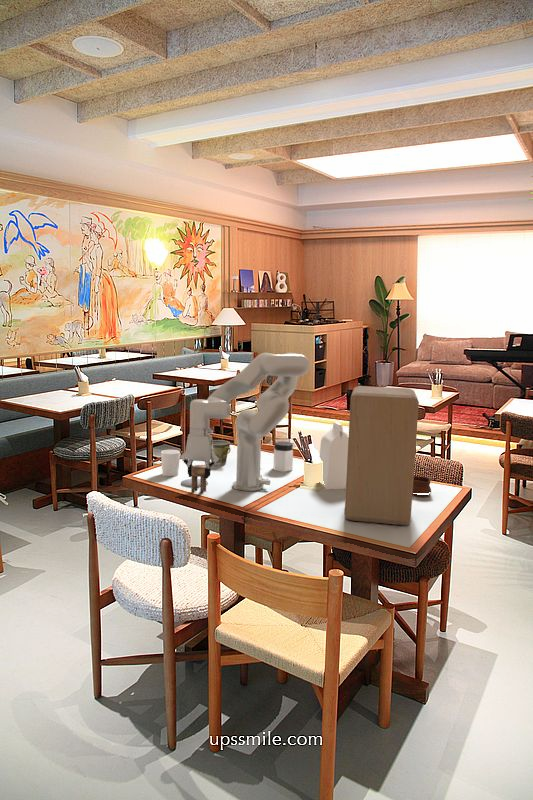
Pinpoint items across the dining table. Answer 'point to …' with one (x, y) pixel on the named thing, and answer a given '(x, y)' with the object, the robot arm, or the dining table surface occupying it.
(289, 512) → the dining table surface
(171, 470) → the white cup
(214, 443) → the ceramic cup
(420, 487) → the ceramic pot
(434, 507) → the dining table surface
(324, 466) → the milk
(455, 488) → the dining table surface
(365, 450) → the block
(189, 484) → the felt mat
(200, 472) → the stool mini
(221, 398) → the robot arm
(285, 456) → the jar
